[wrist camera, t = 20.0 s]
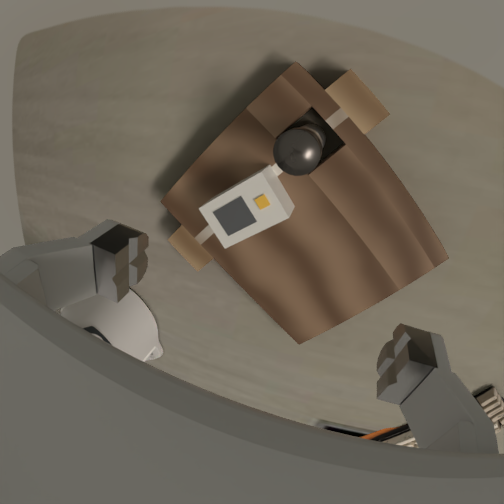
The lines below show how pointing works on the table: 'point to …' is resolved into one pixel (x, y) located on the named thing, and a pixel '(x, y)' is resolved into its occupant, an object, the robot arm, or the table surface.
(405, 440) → the mechanical keyboard
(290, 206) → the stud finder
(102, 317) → the robot arm
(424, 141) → the table surface
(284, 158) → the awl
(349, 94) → the board
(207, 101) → the table surface
